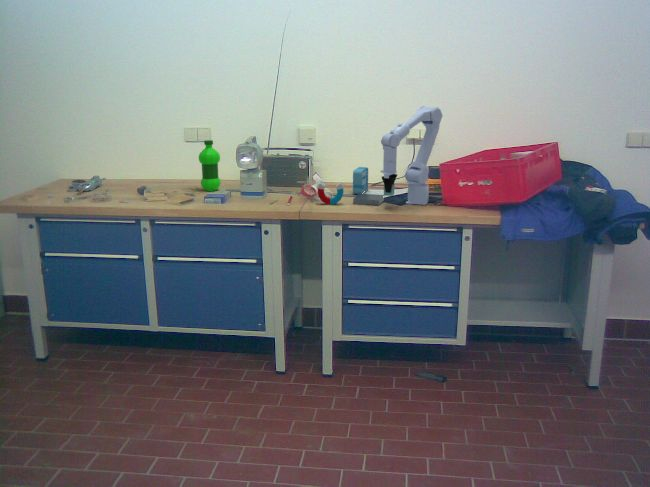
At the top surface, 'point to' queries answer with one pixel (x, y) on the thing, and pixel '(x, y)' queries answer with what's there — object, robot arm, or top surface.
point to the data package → (360, 180)
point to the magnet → (333, 199)
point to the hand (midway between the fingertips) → (389, 191)
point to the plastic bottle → (209, 167)
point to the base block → (368, 199)
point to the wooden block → (390, 192)
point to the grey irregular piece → (86, 184)
